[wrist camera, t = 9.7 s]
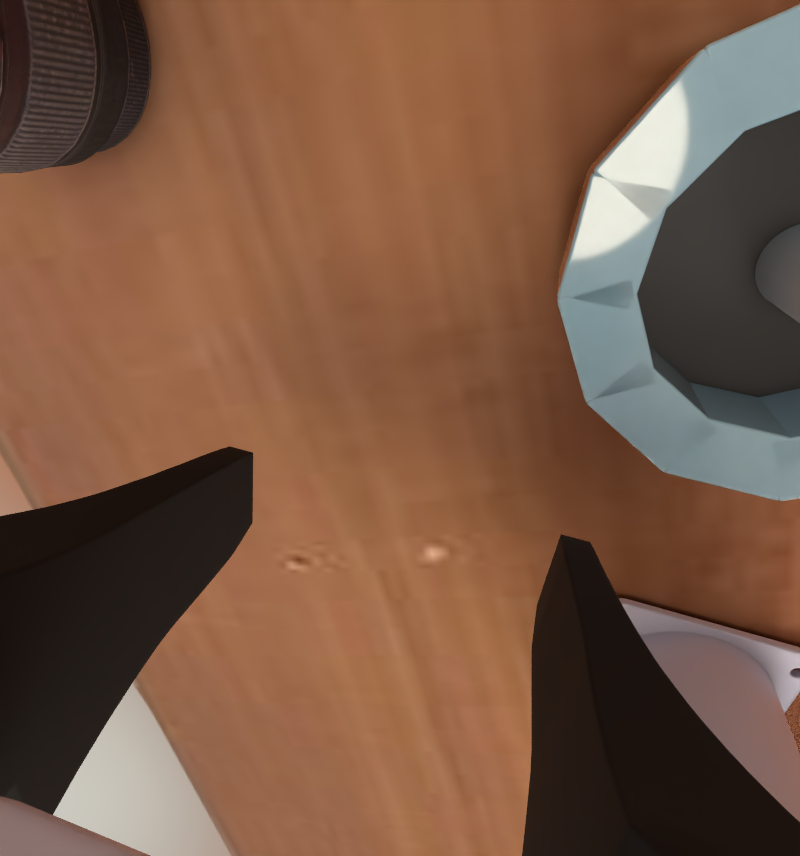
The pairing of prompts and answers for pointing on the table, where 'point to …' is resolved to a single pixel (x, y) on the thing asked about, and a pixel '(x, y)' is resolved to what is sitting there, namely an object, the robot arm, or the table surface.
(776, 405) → the ring
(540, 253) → the table surface
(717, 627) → the robot arm
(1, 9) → the camera lens
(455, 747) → the table surface
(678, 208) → the stand
